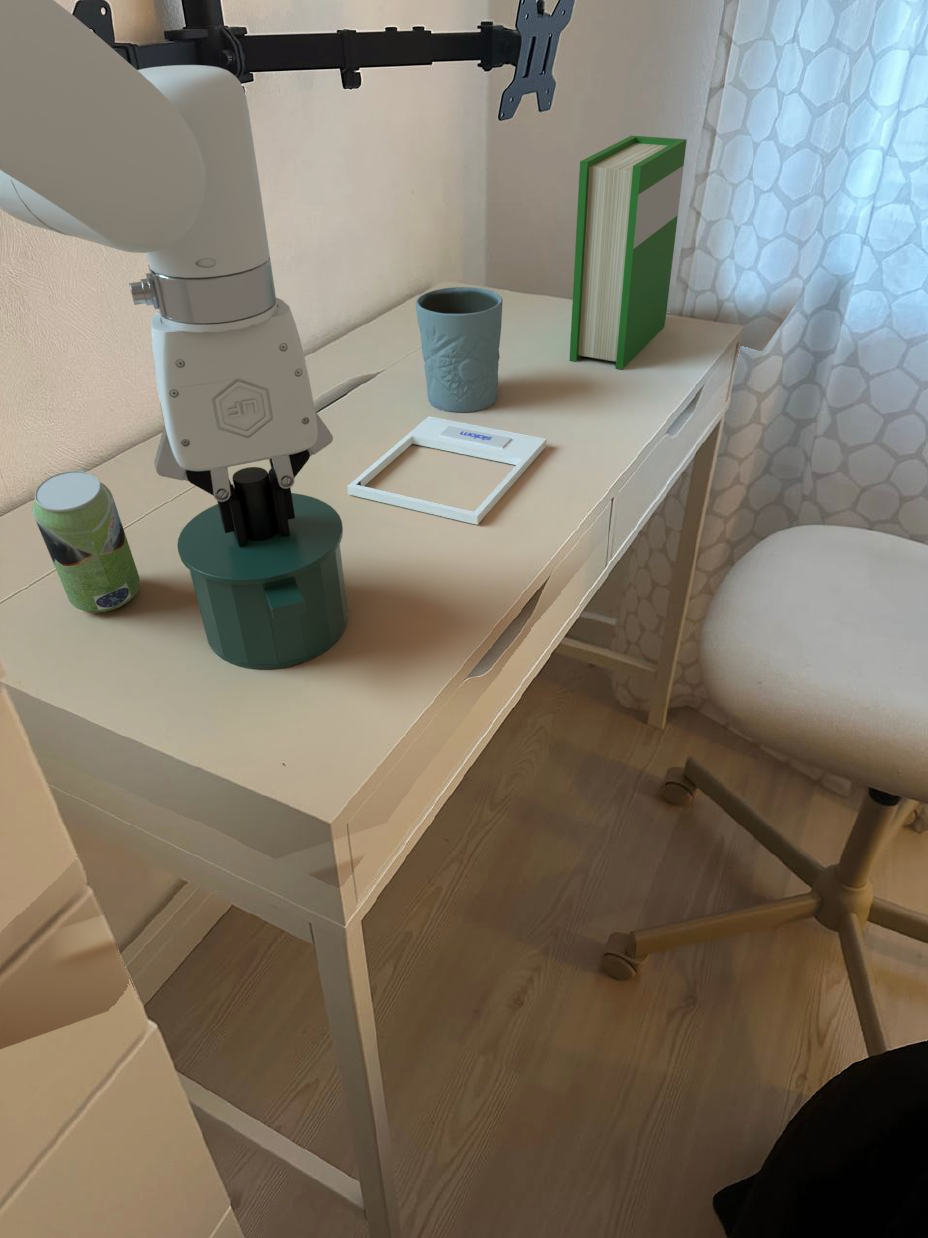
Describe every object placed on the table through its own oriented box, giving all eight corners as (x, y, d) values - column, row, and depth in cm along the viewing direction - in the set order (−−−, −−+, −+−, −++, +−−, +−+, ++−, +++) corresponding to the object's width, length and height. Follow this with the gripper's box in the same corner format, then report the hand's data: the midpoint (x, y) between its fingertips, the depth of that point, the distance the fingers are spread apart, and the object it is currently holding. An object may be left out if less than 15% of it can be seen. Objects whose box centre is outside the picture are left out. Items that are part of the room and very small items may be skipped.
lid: (193, 608, 63) (174, 535, 60) (170, 522, 73) (152, 455, 69) (363, 567, 67) (356, 496, 63) (320, 491, 76) (311, 425, 72)
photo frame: (546, 437, 98) (477, 514, 85) (546, 446, 99) (477, 524, 86) (428, 414, 103) (346, 484, 91) (429, 423, 104) (348, 494, 91)
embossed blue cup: (478, 421, 105) (477, 319, 97) (404, 405, 108) (398, 306, 101) (515, 389, 112) (517, 292, 104) (445, 375, 116) (442, 280, 108)
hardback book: (622, 369, 116) (640, 166, 101) (569, 360, 119) (580, 161, 104) (664, 326, 128) (686, 139, 114) (615, 318, 131) (631, 135, 116)
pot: (226, 707, 67) (204, 617, 61) (192, 586, 79) (171, 502, 74) (374, 667, 70) (365, 578, 65) (319, 556, 83) (307, 474, 77)
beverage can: (136, 571, 81) (101, 451, 74) (152, 615, 76) (115, 491, 69) (64, 590, 79) (20, 469, 72) (74, 636, 74) (28, 510, 66)
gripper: (88, 327, 53) (159, 582, 64) (352, 290, 57) (375, 533, 69) (81, 291, 58) (147, 531, 70) (322, 259, 63) (348, 489, 74)
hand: (260, 530), depth 69 cm, fingers closed on lid, 2 cm apart
